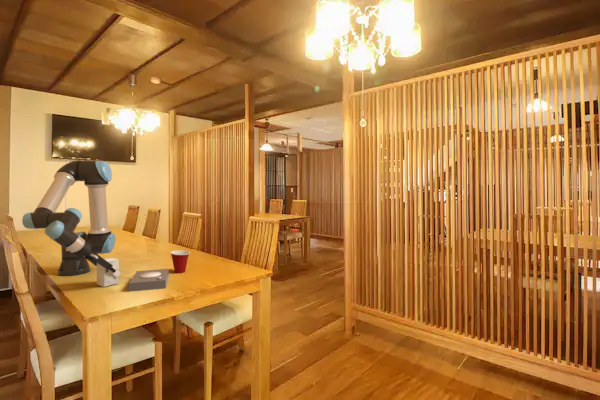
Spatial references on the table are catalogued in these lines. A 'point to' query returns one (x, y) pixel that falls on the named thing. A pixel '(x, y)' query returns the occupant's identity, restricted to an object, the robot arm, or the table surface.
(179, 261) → the plastic cup
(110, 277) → the supplement box
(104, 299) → the table surface
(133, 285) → the grey base plate
